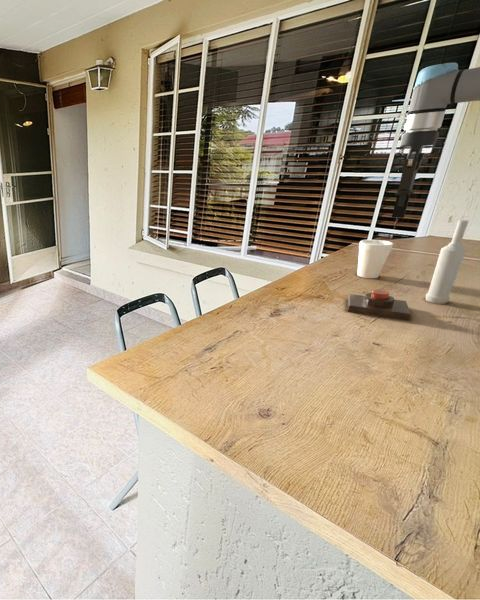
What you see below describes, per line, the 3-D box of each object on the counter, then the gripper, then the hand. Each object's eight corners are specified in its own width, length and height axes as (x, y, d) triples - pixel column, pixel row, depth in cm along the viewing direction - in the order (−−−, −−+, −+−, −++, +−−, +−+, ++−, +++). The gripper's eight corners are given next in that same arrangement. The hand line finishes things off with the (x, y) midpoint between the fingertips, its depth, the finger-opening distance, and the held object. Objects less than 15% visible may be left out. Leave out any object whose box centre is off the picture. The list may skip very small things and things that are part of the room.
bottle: (429, 303, 108) (456, 221, 99) (421, 297, 112) (447, 218, 103) (451, 304, 106) (481, 222, 97) (442, 298, 110) (470, 218, 101)
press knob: (386, 297, 105) (388, 290, 105) (388, 301, 102) (390, 295, 102) (370, 295, 108) (371, 288, 107) (370, 299, 105) (372, 293, 104)
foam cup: (352, 277, 133) (360, 244, 128) (352, 270, 140) (359, 238, 135) (384, 280, 127) (394, 246, 123) (382, 273, 134) (391, 240, 130)
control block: (404, 306, 107) (407, 294, 105) (409, 320, 98) (413, 307, 97) (347, 299, 114) (350, 287, 113) (347, 311, 106) (350, 299, 105)
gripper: (405, 132, 103) (385, 213, 112) (399, 132, 95) (378, 219, 103) (441, 129, 98) (417, 214, 106) (438, 129, 90) (411, 221, 98)
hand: (397, 217), depth 105 cm, fingers closed
